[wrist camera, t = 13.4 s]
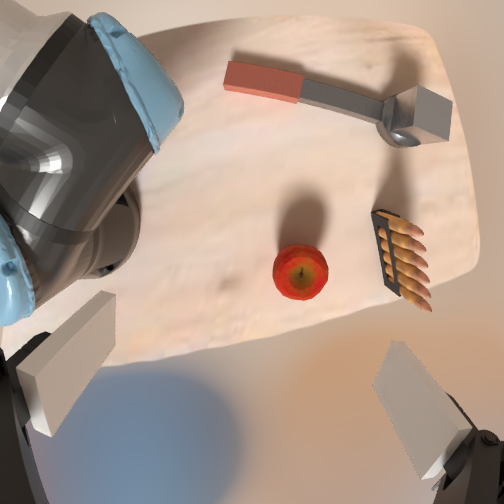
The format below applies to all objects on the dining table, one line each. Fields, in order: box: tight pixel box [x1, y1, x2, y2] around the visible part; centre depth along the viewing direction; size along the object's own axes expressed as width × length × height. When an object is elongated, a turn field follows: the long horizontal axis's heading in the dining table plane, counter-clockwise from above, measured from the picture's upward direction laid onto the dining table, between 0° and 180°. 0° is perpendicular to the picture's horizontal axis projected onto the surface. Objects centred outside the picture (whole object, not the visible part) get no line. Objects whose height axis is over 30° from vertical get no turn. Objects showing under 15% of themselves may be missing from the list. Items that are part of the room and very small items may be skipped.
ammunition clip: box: [371, 209, 432, 312], centre depth 34 cm, size 11×2×12 cm, turn 17°
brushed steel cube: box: [390, 85, 453, 144], centre depth 30 cm, size 5×5×6 cm
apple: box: [273, 245, 328, 301], centre depth 37 cm, size 6×6×8 cm
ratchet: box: [223, 61, 421, 148], centre depth 32 cm, size 26×7×6 cm, turn 79°
